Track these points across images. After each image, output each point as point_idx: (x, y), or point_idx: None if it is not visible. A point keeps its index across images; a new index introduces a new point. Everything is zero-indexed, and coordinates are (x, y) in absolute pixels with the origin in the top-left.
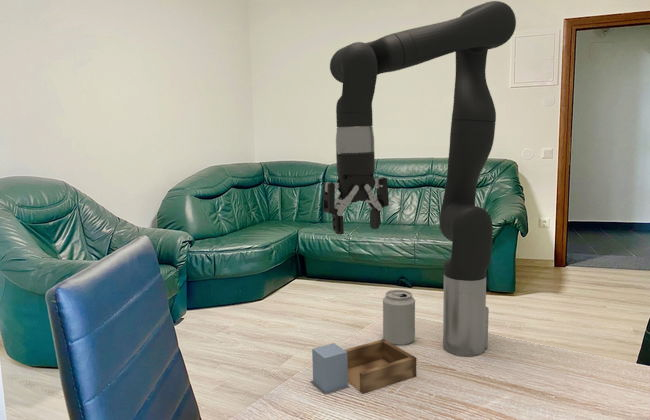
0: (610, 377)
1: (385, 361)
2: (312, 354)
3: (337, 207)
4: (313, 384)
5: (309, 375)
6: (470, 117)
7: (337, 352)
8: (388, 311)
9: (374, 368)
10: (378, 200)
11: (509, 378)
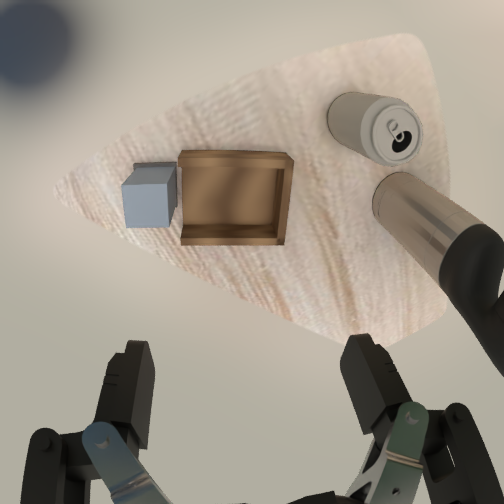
0: (414, 317)
1: (274, 171)
2: (124, 182)
3: (125, 469)
4: None
5: (146, 136)
6: None
7: (153, 220)
8: (352, 131)
9: (206, 239)
10: (446, 438)
11: (360, 282)
